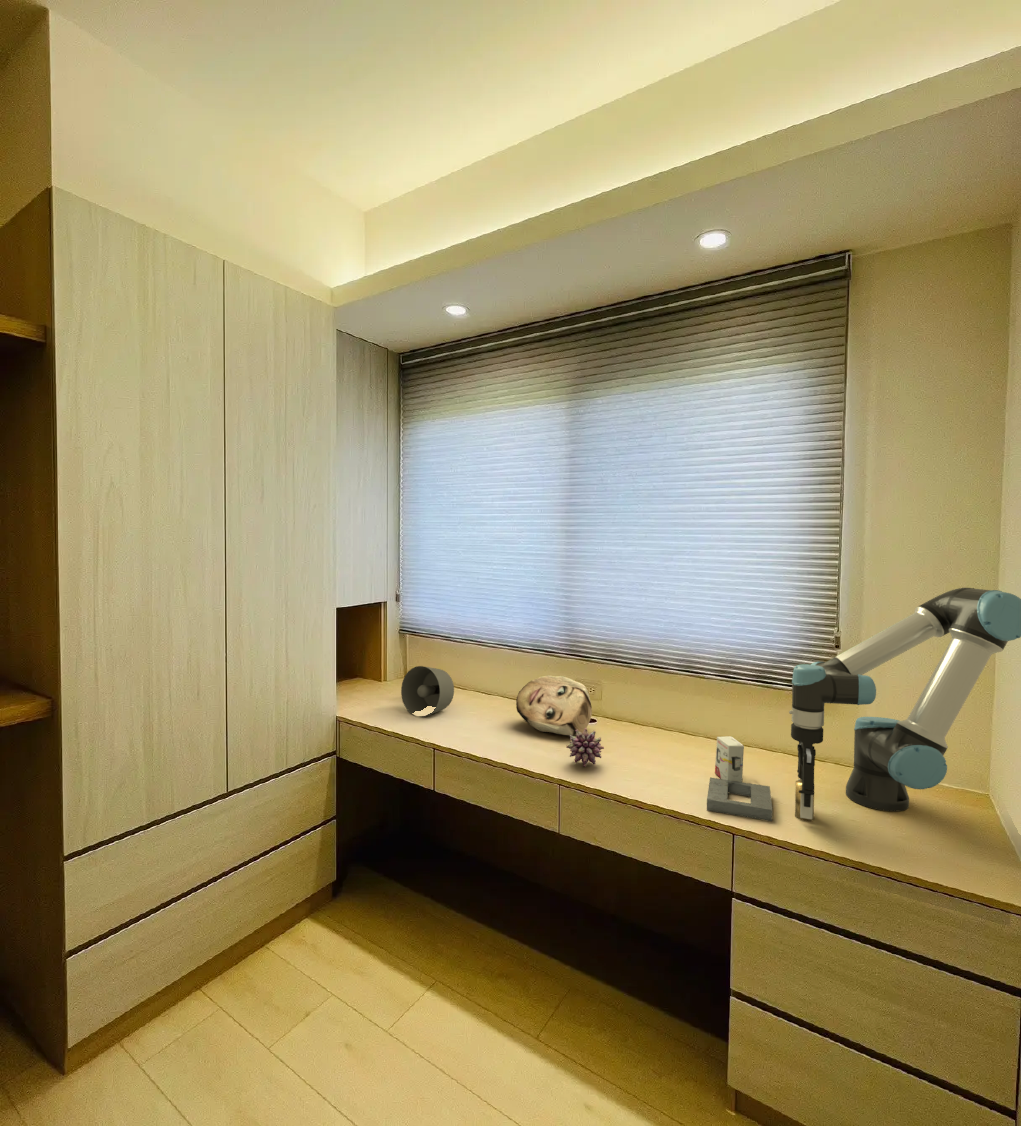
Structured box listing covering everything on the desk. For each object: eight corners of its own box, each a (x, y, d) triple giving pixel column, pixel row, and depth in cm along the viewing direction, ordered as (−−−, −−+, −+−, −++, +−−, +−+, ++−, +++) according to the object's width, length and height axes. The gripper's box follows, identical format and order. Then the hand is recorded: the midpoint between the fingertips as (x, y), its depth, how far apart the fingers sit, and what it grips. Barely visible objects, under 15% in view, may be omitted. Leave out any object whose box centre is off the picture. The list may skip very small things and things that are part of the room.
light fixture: (440, 667, 234) (478, 665, 257) (392, 664, 247) (432, 662, 270) (438, 719, 232) (476, 712, 254) (389, 713, 245) (430, 707, 267)
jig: (769, 796, 166) (769, 786, 166) (772, 821, 151) (772, 810, 151) (709, 787, 172) (710, 777, 172) (706, 810, 157) (706, 799, 157)
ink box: (714, 773, 182) (715, 736, 182) (729, 773, 183) (730, 735, 183) (727, 785, 174) (728, 745, 173) (743, 784, 174) (744, 745, 174)
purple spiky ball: (590, 775, 179) (590, 737, 179) (559, 765, 187) (559, 728, 187) (610, 765, 188) (611, 728, 187) (580, 756, 196) (580, 720, 196)
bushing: (812, 815, 155) (813, 781, 155) (814, 822, 151) (815, 787, 151) (794, 812, 157) (794, 779, 156) (795, 819, 152) (796, 785, 152)
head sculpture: (520, 739, 232) (581, 756, 215) (503, 714, 222) (566, 730, 206) (544, 693, 245) (604, 706, 228) (530, 668, 235) (591, 679, 218)
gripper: (788, 712, 164) (786, 792, 165) (794, 734, 145) (791, 825, 145) (818, 715, 161) (816, 797, 162) (828, 739, 142) (825, 831, 143)
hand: (804, 810), depth 154 cm, fingers open, 8 cm apart
